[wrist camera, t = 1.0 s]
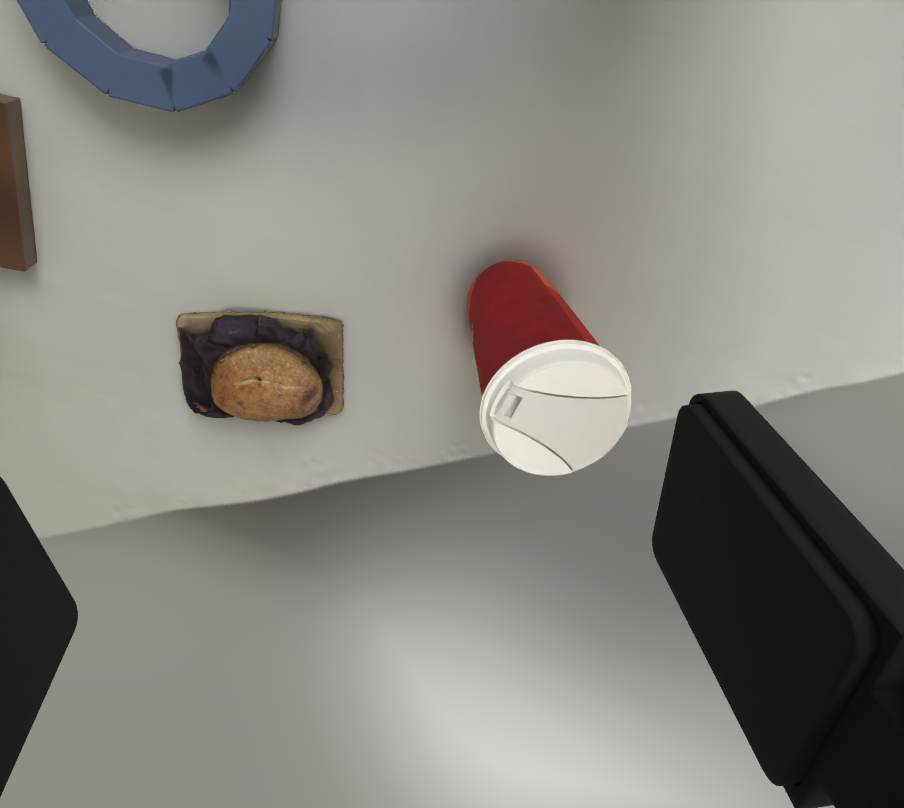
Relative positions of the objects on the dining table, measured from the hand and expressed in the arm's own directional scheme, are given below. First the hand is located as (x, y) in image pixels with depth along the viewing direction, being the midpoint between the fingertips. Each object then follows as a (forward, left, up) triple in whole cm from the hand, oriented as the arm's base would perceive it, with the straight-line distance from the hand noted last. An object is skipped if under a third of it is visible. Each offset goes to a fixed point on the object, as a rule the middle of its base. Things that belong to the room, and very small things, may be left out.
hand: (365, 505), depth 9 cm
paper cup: (+9, +11, -31) cm, 34 cm away
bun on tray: (+17, -4, -31) cm, 35 cm away
